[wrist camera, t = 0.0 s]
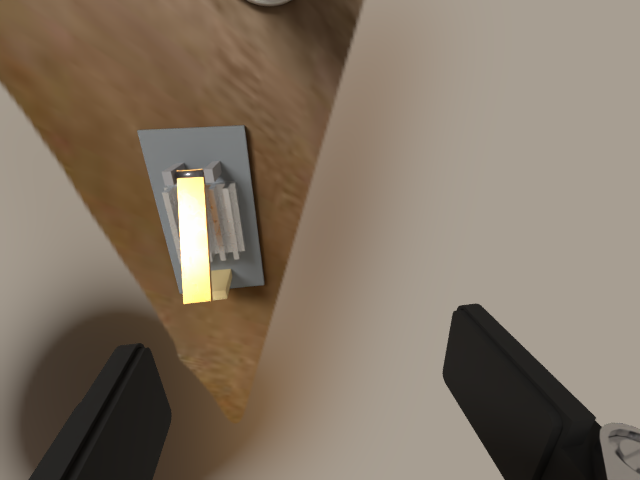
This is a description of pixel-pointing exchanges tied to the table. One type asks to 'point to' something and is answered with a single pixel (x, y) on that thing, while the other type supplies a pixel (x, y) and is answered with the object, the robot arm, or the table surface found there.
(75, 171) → the table surface
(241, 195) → the cpu board
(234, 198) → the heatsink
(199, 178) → the strap
